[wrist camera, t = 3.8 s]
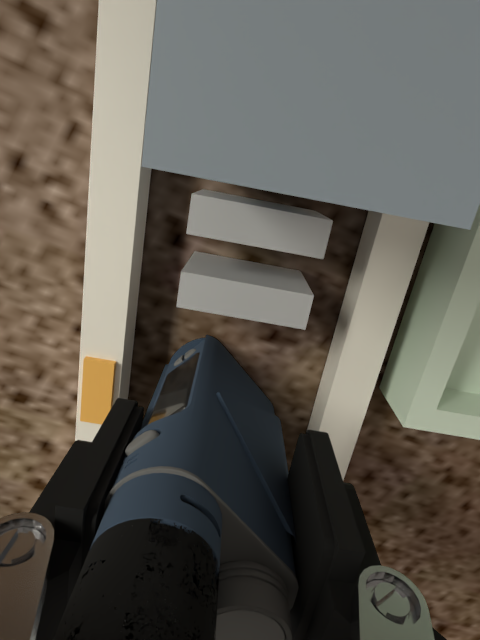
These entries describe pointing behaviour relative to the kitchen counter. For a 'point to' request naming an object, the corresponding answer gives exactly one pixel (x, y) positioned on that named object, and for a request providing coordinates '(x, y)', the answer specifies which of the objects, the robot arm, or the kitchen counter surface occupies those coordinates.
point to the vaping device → (194, 517)
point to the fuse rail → (277, 167)
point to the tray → (440, 339)
